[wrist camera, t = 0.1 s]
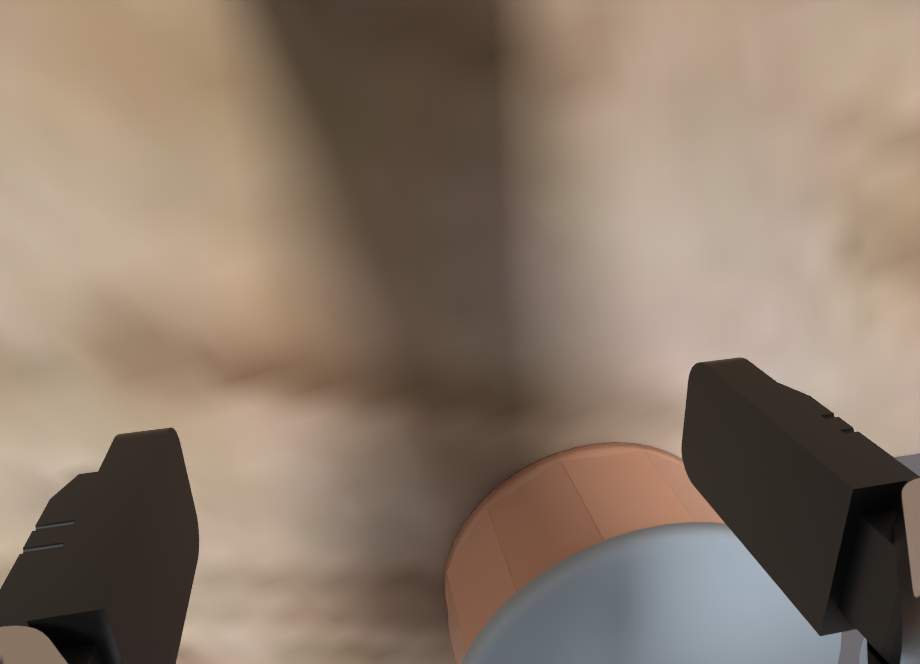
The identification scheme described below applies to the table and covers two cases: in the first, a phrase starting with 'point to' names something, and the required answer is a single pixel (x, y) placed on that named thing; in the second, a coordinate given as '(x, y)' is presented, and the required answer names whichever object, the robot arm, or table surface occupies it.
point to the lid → (654, 607)
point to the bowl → (559, 523)
